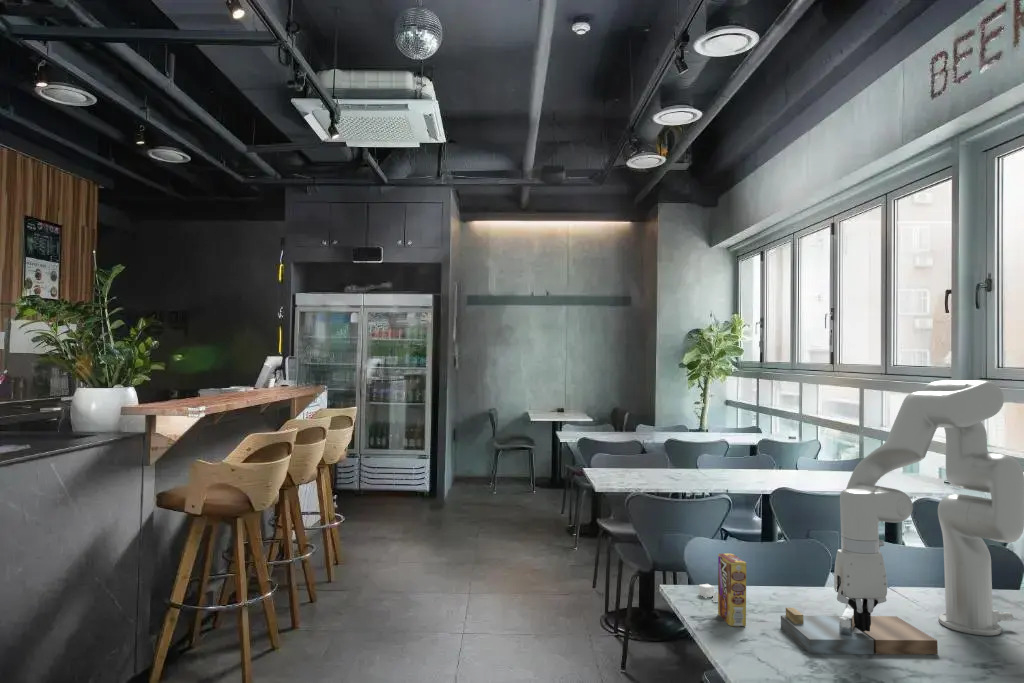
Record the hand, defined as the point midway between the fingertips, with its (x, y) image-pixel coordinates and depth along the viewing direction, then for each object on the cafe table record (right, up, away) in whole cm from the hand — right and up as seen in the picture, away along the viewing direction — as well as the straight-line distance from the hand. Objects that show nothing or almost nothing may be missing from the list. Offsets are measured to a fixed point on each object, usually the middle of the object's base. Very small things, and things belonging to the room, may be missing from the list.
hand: (862, 628), depth 147 cm
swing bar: (-1, -1, +4) cm, 4 cm away
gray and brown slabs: (0, -4, +4) cm, 6 cm away
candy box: (-24, -5, +16) cm, 29 cm away
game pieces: (-23, -6, +31) cm, 39 cm away
